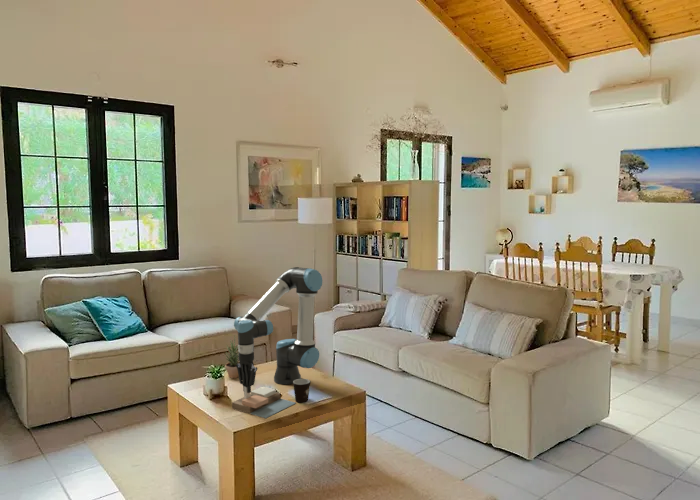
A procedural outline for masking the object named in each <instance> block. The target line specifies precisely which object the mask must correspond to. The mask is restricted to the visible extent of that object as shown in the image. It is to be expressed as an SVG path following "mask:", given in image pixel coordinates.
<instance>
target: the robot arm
mask: <svg viewBox="0 0 700 500" xmlns="http://www.w3.org/2000/svg"><path fill="white" fill-rule="evenodd" d="M274 280H275V281H274V284H272V286H271V287H270V288H269V289H268V290H267V291H266V292H265V293H264V294H263V296H261V297H260V298H259V300H257V302H256V303H255V304H254V305H253V306H252V307H251V308H250V309H249V310H248V311H247V312H246V314H245V315H244V316H238V317H236V318H235V319H234V322H233V326H234V329H235V330H236V331H237V346H238V349H237V352H238V354H237V355H238V358H239V359H238V360H239V361H238V362H239V364H236V367H237V370H238V375H239V377H238V379H239V380H238V381H239V384H240V385H242V387H243V395H244V396H243V397H244V399H246V398H249V397H250V394H251V391H252V386H254V385H255V381H256V376H257V375H256V374H257V371H258V369H259V368H258V367H257V366H254V365H255V364H254V360H255V346H254V343H255V340H254V339H258V338H262V337H266V336H269V335H271V334H272V333H273V332H274V325H273V322H272V321H271V320H269V319H265V320H264V319H263V317H264V316H265V315H266V314H267V313H268V312H269V311H270V310H271V308H272V307H274V305H276V303H277V302H279V300H280V299H281V298H282V297H283V296H284V295H285V293H289V292H290V291H291V290H292V289H296V290H295V293H296V294H297V295H298V306H297V307H298V308H297V309H298V310H297V328H296V329H297V333H296V338H285V339H281V340H278V341H277V342H276V346H275V347H276V349H275V350H276V351H275V352H276V369H275V373H274V375H273V381H274V383H276V384H279V385H292V384H293V381H294V380H297V379H302V376H301V375H302V374H301V372H300V370H299V367H300V368H304V369H311V368H313V367H315V366H316V364H317V363H318V361H319V359H320V350H319V349H318V348H316V342H315V340H314V339H313V338H314V322H315V321H314V319H315V297H316V295H318V291H319V290H321V288H322V287H323V276H322V274H321V273H320V271H319V270H317V269H315V268H310V267H309V268H308V267H300V266H295V267H294V266H293V267H291V268H289V269H287V270H285V271H284V272H283V273H281V275H279V276H278V277H277V278H276V279H274ZM261 319H263V320H261Z"/></svg>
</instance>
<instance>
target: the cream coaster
mask: <svg viewBox="0 0 700 500" xmlns="http://www.w3.org/2000/svg"><path fill="white" fill-rule="evenodd" d="M276 393H277V390H276V389H274V388H271V387H267V386H261V387H258V388H255V389H253V390H251V392H250V394H251V395H252V396H253V395H258V396H261V397H265V398H267V397H269V396H271V395H273V394H276Z"/></svg>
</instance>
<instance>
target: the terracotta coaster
mask: <svg viewBox="0 0 700 500" xmlns="http://www.w3.org/2000/svg"><path fill="white" fill-rule="evenodd" d="M266 403H268V398H265V397H261V396H258V395H253V396H251V397H249V398H246V399H244V400H242V404H243V405H246V406H249V407H252V408H257V407H259V406H262V405H264V404H266Z"/></svg>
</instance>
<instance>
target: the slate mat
mask: <svg viewBox="0 0 700 500" xmlns="http://www.w3.org/2000/svg"><path fill="white" fill-rule="evenodd" d="M296 404H297V402H296V401H292V400H288V399H285V398H280V399H279V400H277V401H275V402H273V403H271V404H269V405H266V406H264V407H262V408H260V409H258V410H256V411H254V412H252V413H250V414H251V415H253V416H257V417H259V418H263V419H268V418H269V417H272V416H274V415H277V414H278V413H280V412H282V411H284V410H286V409H288V408H289V407H292V406H294V405H296Z"/></svg>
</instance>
